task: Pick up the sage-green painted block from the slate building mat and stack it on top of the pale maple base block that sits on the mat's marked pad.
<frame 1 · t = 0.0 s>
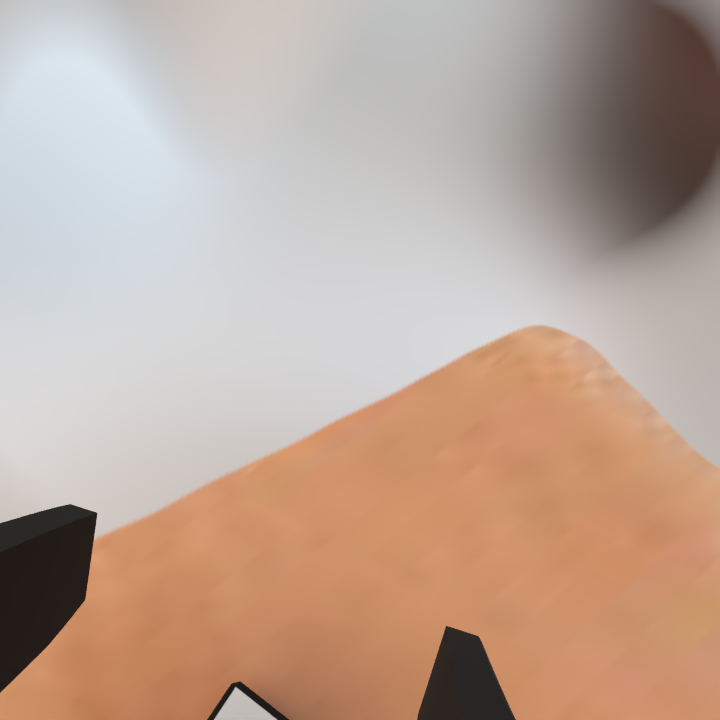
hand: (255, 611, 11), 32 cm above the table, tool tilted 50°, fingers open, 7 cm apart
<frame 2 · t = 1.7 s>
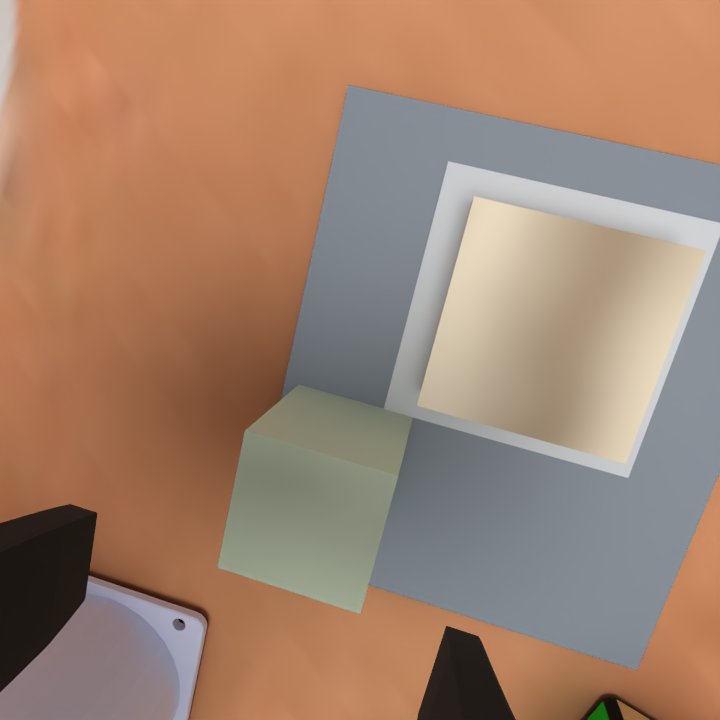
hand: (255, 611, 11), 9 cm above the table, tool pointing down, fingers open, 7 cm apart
green block: (341, 454, 19), resting on building mat
base block: (540, 323, 17), resting on building mat
building mat: (499, 391, 18), on the table
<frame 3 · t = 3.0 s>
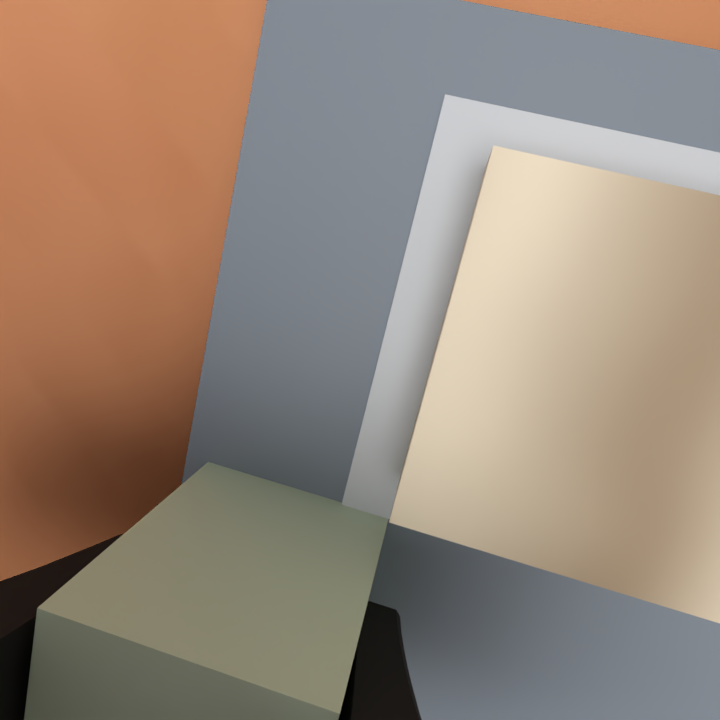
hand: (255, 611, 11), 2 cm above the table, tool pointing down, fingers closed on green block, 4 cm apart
green block: (277, 570, 12), resting on building mat, touching gripper
base block: (601, 373, 10), resting on building mat
building mat: (529, 478, 11), on the table
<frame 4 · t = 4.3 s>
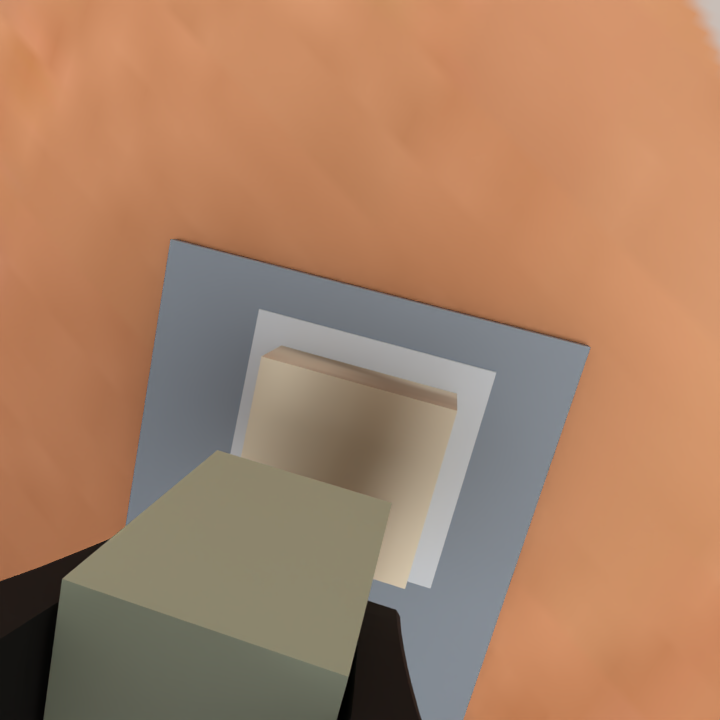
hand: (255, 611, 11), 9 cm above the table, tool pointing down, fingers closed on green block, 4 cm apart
green block: (284, 556, 12), point 7 cm above the table, touching gripper
base block: (346, 452, 19), resting on building mat
building mat: (320, 506, 20), on the table
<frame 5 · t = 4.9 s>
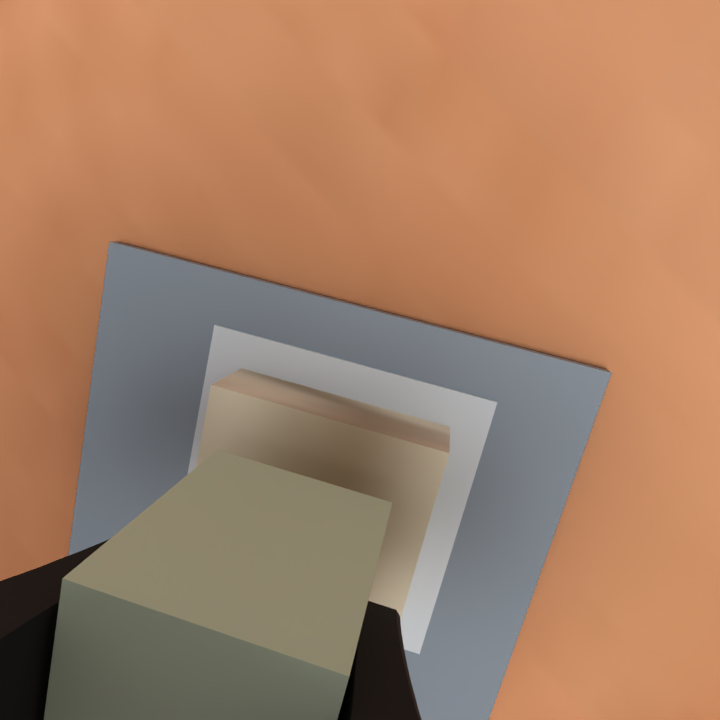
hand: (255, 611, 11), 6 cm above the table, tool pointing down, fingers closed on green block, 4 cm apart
green block: (284, 555, 12), point 4 cm above the table, touching gripper
base block: (319, 494, 16), resting on building mat
building mat: (290, 555, 17), on the table
when the fingers open (5 cm above the table, at t = 5.5 s): green block stays where it is, resting on base block.
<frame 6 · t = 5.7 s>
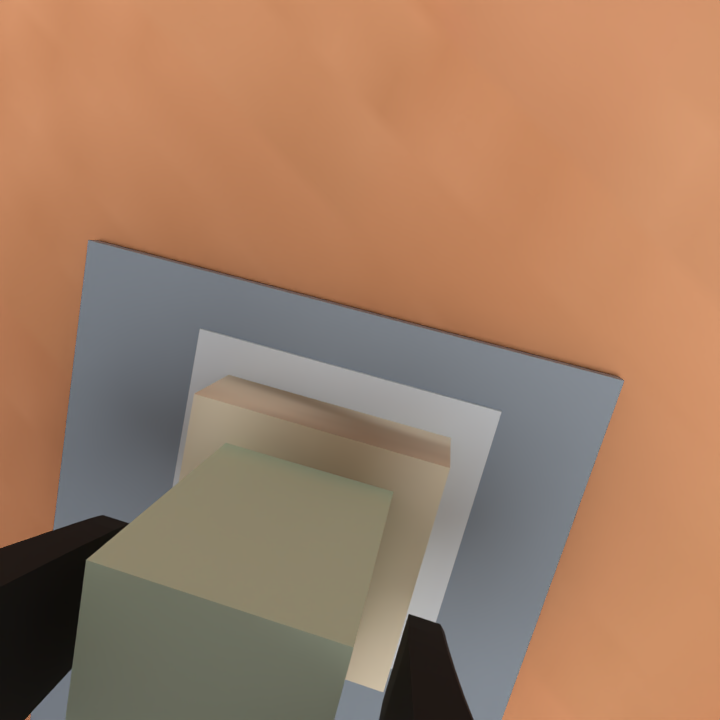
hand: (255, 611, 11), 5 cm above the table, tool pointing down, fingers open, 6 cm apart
green block: (290, 543, 13), point 2 cm above the table, touching base block
base block: (312, 508, 15), resting on building mat, touching green block
building mat: (282, 572, 16), on the table
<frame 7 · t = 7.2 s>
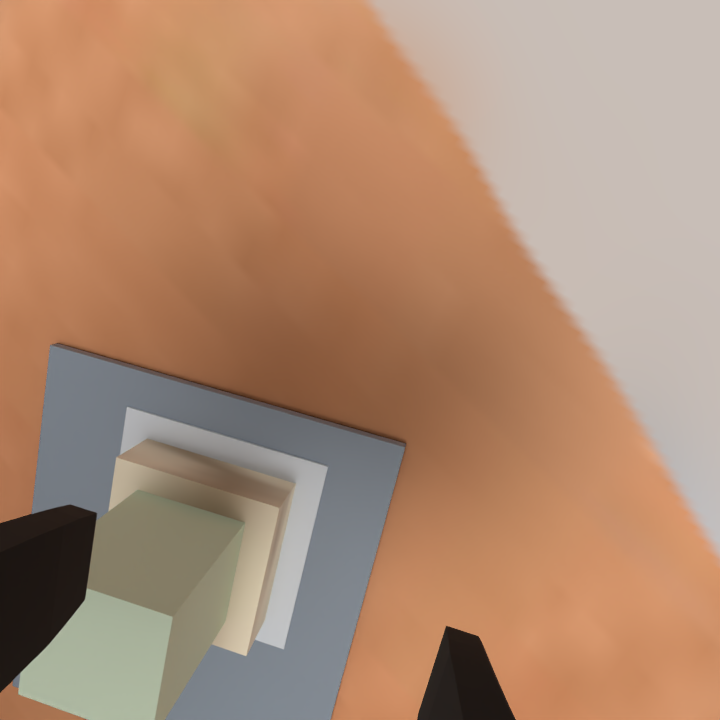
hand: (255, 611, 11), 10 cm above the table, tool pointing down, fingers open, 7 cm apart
green block: (182, 556, 19), point 2 cm above the table, touching base block
base block: (206, 530, 21), resting on building mat, touching green block
building mat: (190, 574, 23), on the table
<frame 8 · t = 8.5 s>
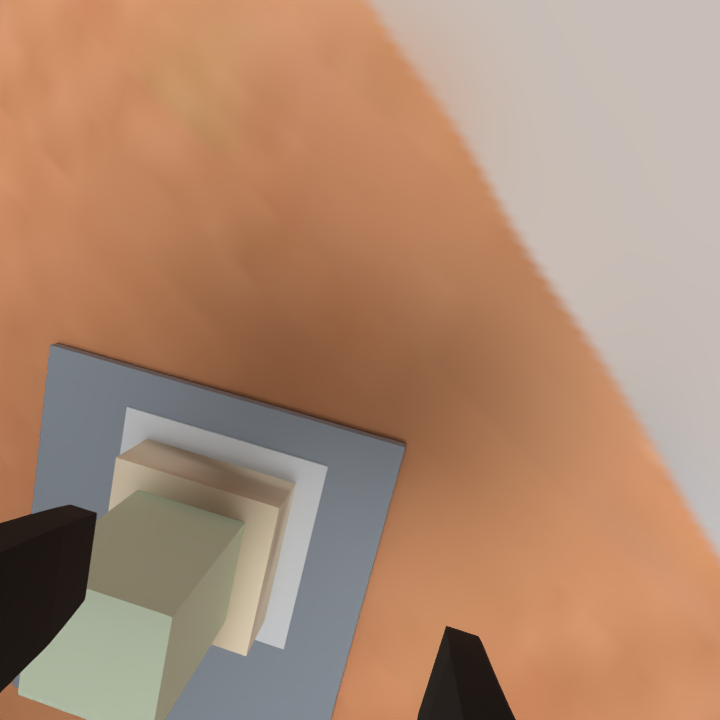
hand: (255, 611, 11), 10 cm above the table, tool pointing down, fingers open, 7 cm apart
green block: (181, 556, 19), point 2 cm above the table, touching base block
base block: (206, 530, 21), resting on building mat, touching green block
building mat: (190, 575, 23), on the table
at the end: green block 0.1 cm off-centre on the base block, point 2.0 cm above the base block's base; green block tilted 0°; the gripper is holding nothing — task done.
